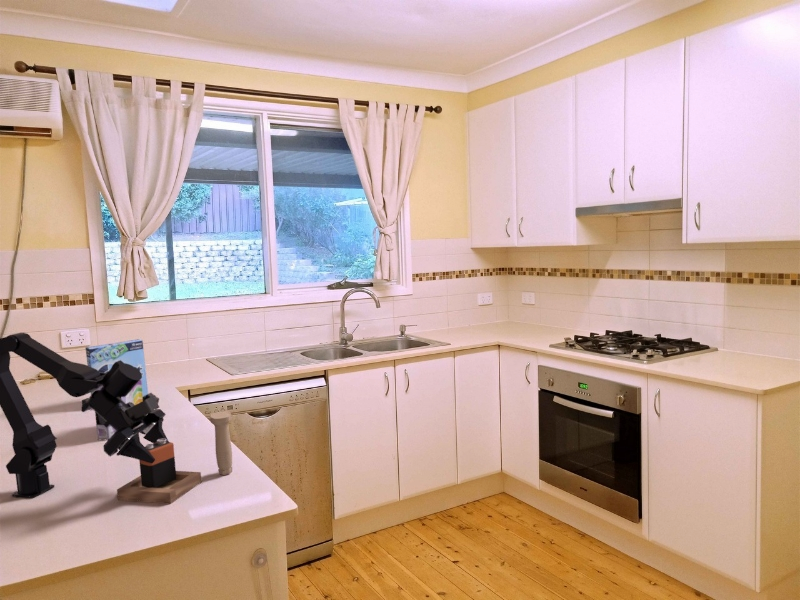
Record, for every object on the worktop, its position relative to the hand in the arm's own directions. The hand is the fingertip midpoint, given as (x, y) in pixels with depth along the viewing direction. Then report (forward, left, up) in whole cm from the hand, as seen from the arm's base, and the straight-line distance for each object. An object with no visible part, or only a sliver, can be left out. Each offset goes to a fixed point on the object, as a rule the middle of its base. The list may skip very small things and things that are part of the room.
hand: (162, 455), depth 141 cm
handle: (+9, +12, -9) cm, 17 cm away
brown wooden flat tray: (-1, 0, -9) cm, 9 cm away
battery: (-1, 0, -7) cm, 7 cm away
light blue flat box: (-71, +71, -9) cm, 101 cm away
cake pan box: (-45, +40, -9) cm, 61 cm away
